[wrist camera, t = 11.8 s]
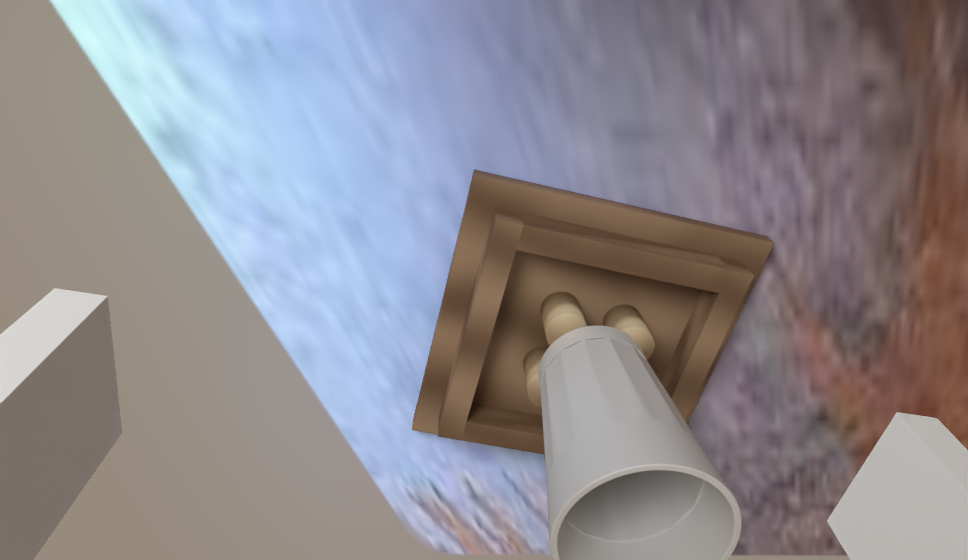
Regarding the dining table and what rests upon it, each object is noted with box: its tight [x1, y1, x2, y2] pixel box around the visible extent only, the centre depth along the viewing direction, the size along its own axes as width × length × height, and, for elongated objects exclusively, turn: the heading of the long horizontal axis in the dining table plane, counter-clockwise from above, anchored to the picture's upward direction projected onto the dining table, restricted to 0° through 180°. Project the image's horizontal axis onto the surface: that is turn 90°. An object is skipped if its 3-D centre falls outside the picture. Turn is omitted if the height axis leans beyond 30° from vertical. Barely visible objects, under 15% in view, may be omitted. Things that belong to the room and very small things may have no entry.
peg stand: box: [412, 170, 774, 454], centre depth 39 cm, size 18×18×4 cm
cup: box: [538, 326, 742, 560], centre depth 32 cm, size 8×8×12 cm
